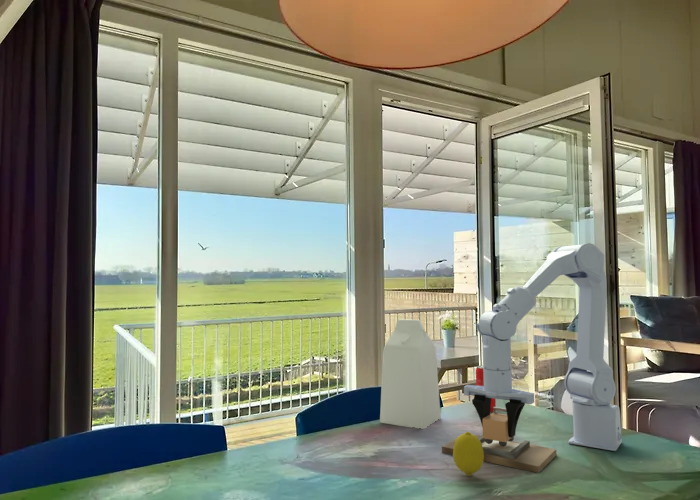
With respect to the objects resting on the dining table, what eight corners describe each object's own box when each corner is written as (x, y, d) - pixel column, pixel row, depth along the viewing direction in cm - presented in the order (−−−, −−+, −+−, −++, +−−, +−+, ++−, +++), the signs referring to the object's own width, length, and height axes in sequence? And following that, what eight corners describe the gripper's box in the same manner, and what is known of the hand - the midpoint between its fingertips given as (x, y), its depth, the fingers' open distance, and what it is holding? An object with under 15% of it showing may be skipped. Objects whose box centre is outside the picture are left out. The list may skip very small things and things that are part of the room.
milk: (440, 418, 135) (438, 319, 136) (423, 429, 125) (421, 322, 126) (399, 412, 141) (398, 317, 142) (379, 422, 131) (378, 320, 133)
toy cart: (493, 437, 111) (493, 406, 111) (515, 441, 108) (515, 409, 108) (483, 444, 106) (482, 412, 106) (505, 448, 103) (504, 415, 104)
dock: (556, 455, 105) (556, 444, 105) (538, 472, 96) (538, 460, 96) (465, 438, 117) (465, 428, 117) (441, 452, 108) (441, 441, 108)
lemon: (482, 483, 91) (481, 437, 91) (451, 479, 93) (450, 434, 93) (485, 472, 96) (484, 429, 97) (455, 469, 98) (455, 426, 98)
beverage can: (472, 409, 144) (471, 366, 144) (487, 407, 146) (486, 364, 146) (484, 413, 139) (483, 368, 140) (499, 411, 141) (498, 367, 142)
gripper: (457, 367, 109) (458, 432, 108) (525, 374, 100) (527, 445, 99) (470, 363, 115) (472, 425, 114) (536, 369, 106) (538, 436, 105)
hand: (498, 434), depth 107 cm, fingers closed on toy cart, 5 cm apart
